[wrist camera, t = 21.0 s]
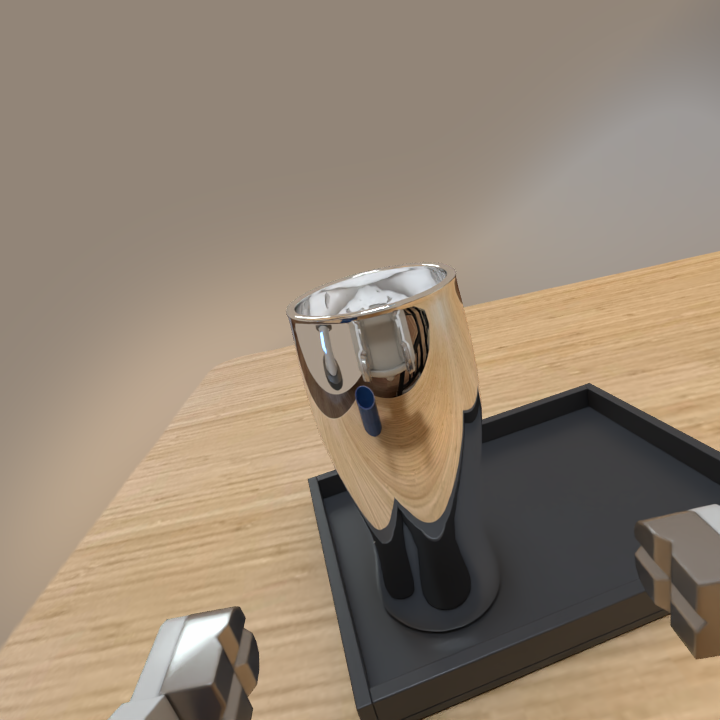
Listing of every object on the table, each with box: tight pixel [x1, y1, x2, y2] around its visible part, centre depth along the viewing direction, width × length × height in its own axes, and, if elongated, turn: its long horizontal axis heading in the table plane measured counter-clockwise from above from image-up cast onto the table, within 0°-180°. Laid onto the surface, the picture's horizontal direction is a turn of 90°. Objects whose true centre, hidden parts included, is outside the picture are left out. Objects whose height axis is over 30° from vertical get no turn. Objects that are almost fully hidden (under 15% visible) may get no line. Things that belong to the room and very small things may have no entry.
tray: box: [308, 383, 720, 720], centre depth 25 cm, size 21×15×2 cm
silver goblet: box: [286, 262, 500, 632], centre depth 20 cm, size 7×7×15 cm
